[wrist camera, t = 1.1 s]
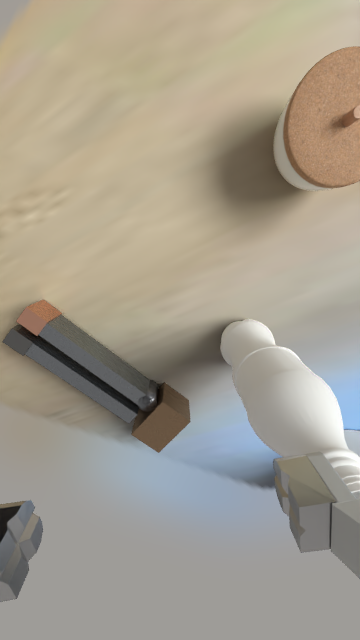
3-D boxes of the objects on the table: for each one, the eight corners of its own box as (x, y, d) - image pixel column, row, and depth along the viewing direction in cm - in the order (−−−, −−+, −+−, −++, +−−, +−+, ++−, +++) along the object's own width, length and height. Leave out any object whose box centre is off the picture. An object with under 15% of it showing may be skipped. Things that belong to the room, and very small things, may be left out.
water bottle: (242, 368, 39) (349, 574, 15) (207, 341, 37) (262, 518, 13) (276, 334, 37) (458, 502, 13) (240, 304, 36) (371, 430, 12)
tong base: (188, 400, 40) (190, 421, 35) (160, 428, 42) (158, 452, 37) (46, 295, 35) (26, 304, 30) (20, 332, 36) (-4, 345, 32)
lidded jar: (290, 76, 28) (344, -2, 19) (368, 124, 30) (452, 73, 21) (244, 175, 31) (271, 147, 22) (317, 214, 32) (371, 203, 23)
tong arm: (161, 386, 39) (160, 403, 35) (151, 397, 40) (148, 415, 36) (43, 299, 35) (26, 306, 31) (33, 312, 35) (15, 321, 31)
